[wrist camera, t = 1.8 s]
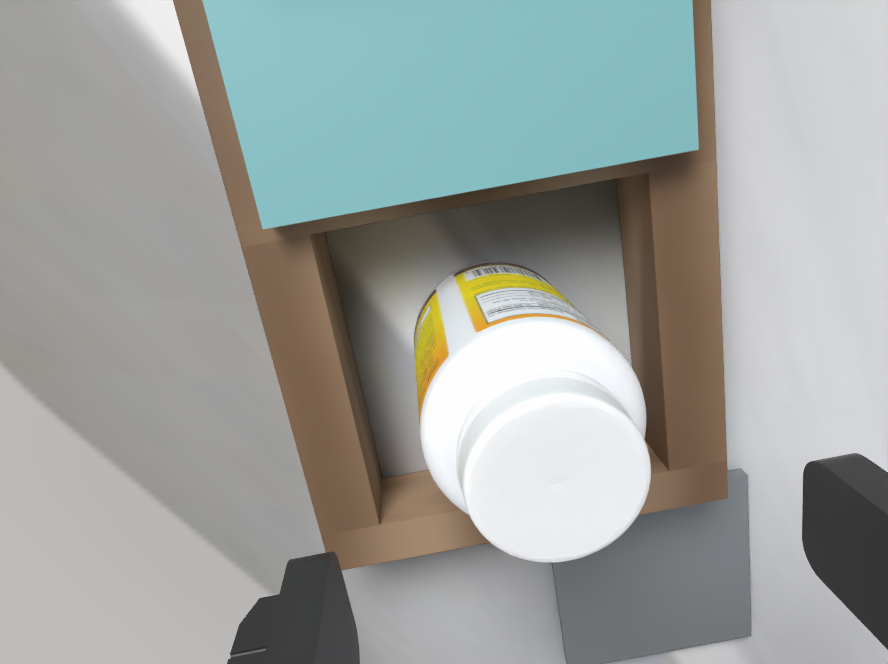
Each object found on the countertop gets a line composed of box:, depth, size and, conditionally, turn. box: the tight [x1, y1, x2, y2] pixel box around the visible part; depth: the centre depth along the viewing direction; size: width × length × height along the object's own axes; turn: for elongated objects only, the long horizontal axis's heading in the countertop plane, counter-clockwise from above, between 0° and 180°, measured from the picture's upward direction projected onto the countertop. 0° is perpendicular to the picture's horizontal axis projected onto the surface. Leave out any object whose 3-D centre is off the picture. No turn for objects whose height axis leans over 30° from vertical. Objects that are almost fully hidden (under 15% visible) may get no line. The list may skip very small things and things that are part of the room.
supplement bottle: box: [414, 261, 651, 563], centre depth 18 cm, size 6×6×10 cm
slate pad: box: [552, 469, 751, 664], centre depth 26 cm, size 8×8×1 cm
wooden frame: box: [173, 0, 728, 570], centre depth 20 cm, size 14×22×3 cm, turn 10°
